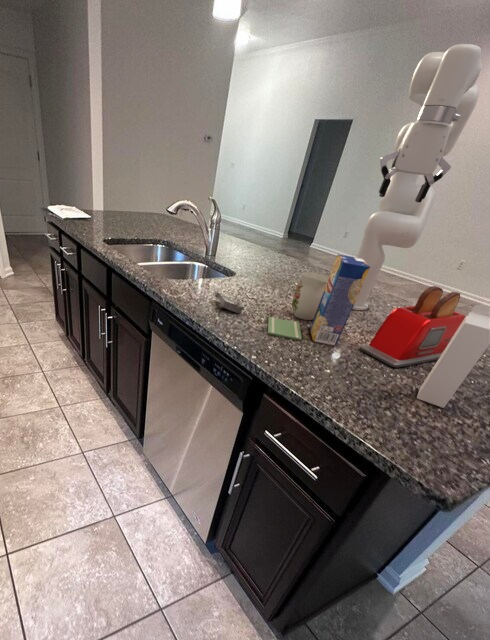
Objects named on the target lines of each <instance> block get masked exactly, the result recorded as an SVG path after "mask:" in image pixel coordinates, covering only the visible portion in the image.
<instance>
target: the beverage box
mask: <svg viewBox="0 0 490 640" xmlns="http://www.w3.org/2000/svg"><path fill="white" fill-rule="evenodd" d="M369 269H370V266H369V265H368V264H367V263H366V262H365V261H364V260H363V259H362V258H356V256H355V257H354V256H350V255H343V254H337V255H336V258H335V261H334V263H333V266H332V268H331V271H330V274H329V275H328V276H329V279H328V282H327V284H326V287H325V290H324V292H323V295H322V298H321V300H320V303H319V306H318V308H317V311H316V314H315V316H314V318H313V319H312V322H311V325H310V327H309V330H310V334H311V339H312V342H316V343H319V344H325V345H331V346H337V345H338V343H339V340H340V338H341V335H342V333H343V331H344V329H345V327H346V323H347V322H348V320H349V317H350V315H351V313H352V310H353V309H352V308H353V306H354V303H355V301H356V299H357V297H358V294H359V292H360V290H361V287H362V285H363V283H364V280H365V278H366V276H367V274H368V271H369Z"/></svg>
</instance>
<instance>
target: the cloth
mask: <svg viewBox="0 0 490 640" xmlns="http://www.w3.org/2000/svg"><path fill="white" fill-rule="evenodd" d="M267 335H271V336H275V337H280V338H284V339H285V338H286V339H292V340H297V341H300V342H301V341H302V340H303V338H302V331H301V326H300V322H299V321H296V320H287V319H282V318H276V317H274V316H268V318H267Z"/></svg>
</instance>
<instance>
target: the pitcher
mask: <svg viewBox="0 0 490 640" xmlns="http://www.w3.org/2000/svg"><path fill="white" fill-rule="evenodd" d="M329 276H330V275H327V274H322V273H318V272H312V271H304V272H301V274H300V280H299V283H298V284H297V285H296V287H295V289H294V292H293V295H292V300H291V309H292V313H293V315H294V317H296V318H297V319H299V320H305V321H313V319H314V316H315V314H316V311H317V308H318V306H319V303H320V300H321V298H322V295H323V292H324V290H325V287H326V284H327V282H328V279H329Z"/></svg>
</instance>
